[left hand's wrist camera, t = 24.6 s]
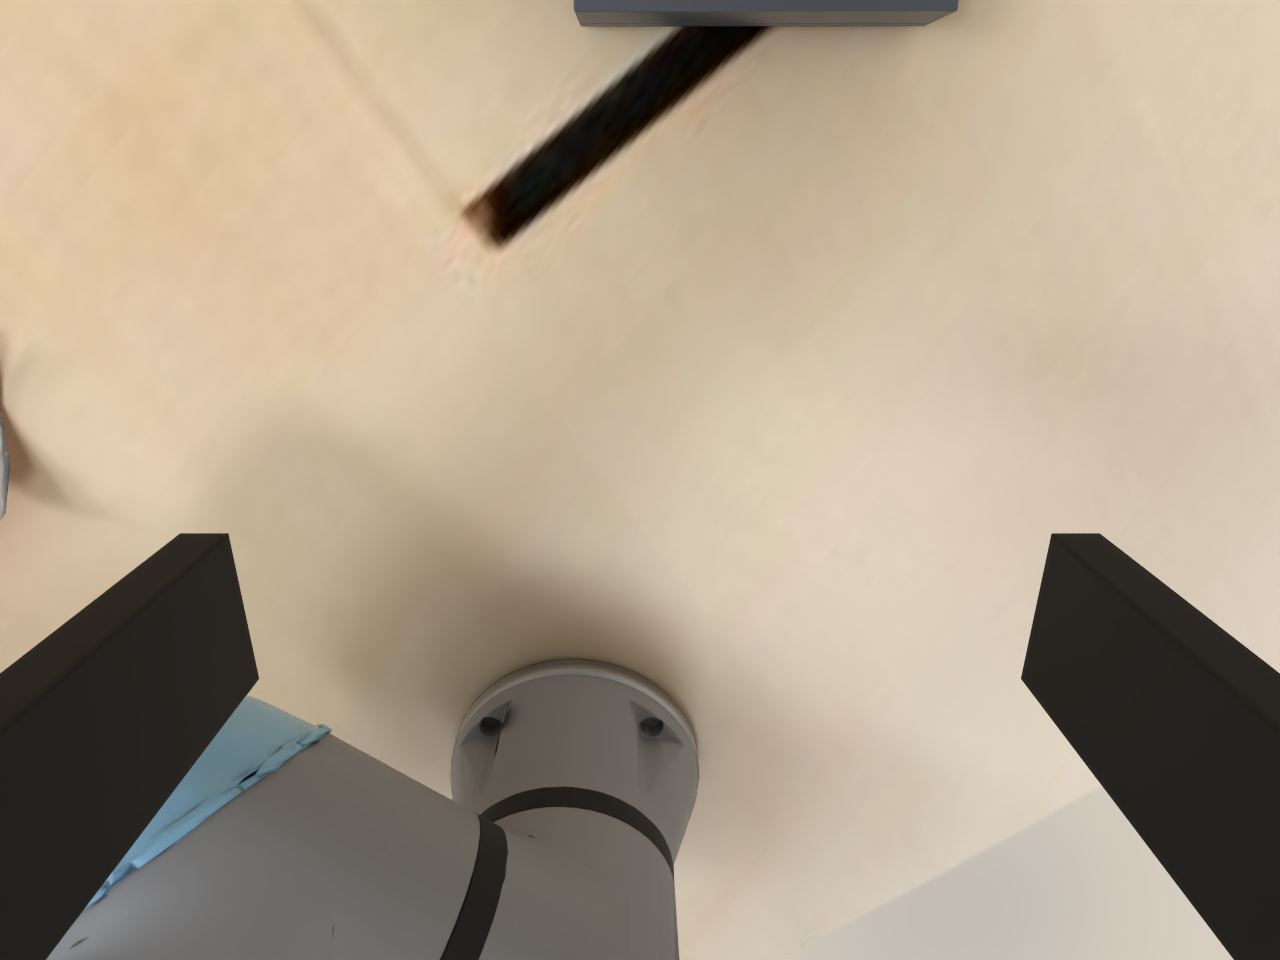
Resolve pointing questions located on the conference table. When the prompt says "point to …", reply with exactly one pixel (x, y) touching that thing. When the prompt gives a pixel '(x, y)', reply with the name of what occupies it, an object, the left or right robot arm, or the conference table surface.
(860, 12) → the tray
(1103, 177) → the conference table surface
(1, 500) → the fish
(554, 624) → the conference table surface
